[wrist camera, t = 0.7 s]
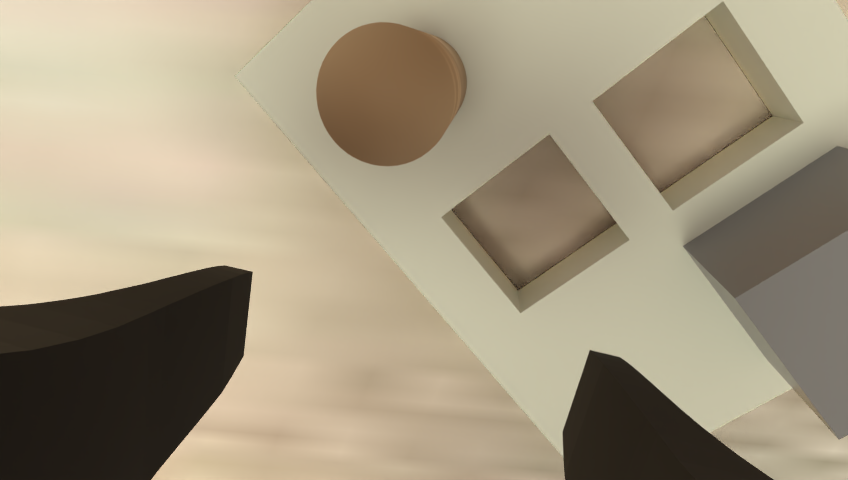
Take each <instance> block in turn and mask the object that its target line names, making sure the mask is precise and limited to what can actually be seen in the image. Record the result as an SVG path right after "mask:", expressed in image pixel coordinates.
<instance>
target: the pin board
mask: <svg viewBox="0 0 848 480" xmlns="http://www.w3.org/2000/svg"><path fill="white" fill-rule="evenodd" d="M704 15H705V16H706V18H707V19H708V21H709V22H710V24H711V25H712V27H713V28H714V30H715V31H716V33H717V34H718V36H719V37H720V39H721V40H722V41H723V43H724V44H725V46H726V47H727V49H728V50H729V52H730V53H731V55H732V56H733V58H734V59H735V61H736V62H737V64H738V65H739V67H740V68H741V70H742V71H743V73H744V74H745V76H746V77H747V79H748V80H749V82H750V83H751V85H752V86H753V88H754V89H755V91H756V92H757V94H758V95H759V97H760V98H761V100H762V101H763V103H764V104H765V106H766V107H767V108H768V110H769V111H770V113H771V114H772V117H770V118H769V119H767V120H766V121H764V122H763V123H761V124H760V125H759V126H757V127H756V128H754V129H753V130H751V131H750V132H748V133H747V134H745V135H744V136H743V137H741V138H740V139H738V140H737V141H735V142H734V143H732V144H731V145H729V146H728V147H727V148H725V149H724V150H722V151H721V152H719V153H718V154H716V155H715V156H713V157H712V158H711V159H709V160H708V161H706V162H705V163H703V164H702V165H700V166H699V167H697V168H696V169H694V170H693V171H692V172H690V173H689V174H687V175H686V176H684V177H683V178H681V179H680V180H678V181H677V182H676V183H674V184H673V185H671V186H670V187H668V188H667V189H665V190H664V191H662V192H661V193H660V192H659V191H658V190H657V188H656V187H655V186H654V184H653V183H652V182H651V180H650V179H649V178H648V176H647V175H646V173H645V172H644V171H643V169H642V168H641V167H640V165H639V164H638V163H637V161H636V160H635V158H634V157H633V156H632V154H631V153H630V152H629V150H628V149H627V148H626V146H625V145H624V144H623V142H622V141H621V139H620V138H619V137H618V135H617V134H616V133H615V131H614V130H613V129H612V127H611V126H610V124H609V123H608V122H607V120H606V119H605V118H604V116H603V115H602V114H601V112H600V111H599V110H598V108H597V107H596V105H595V104H594V103H593V100H595V99H596V98H597V97H599V96H600V95H601V94H603V93H604V92H605V91H606V90H608V89H609V88H610V87H612V86H613V85H614V84H616V83H617V82H618V81H620V80H621V79H622V78H623V77H625V76H626V75H627V74H629V73H630V72H631V71H633V70H634V69H635V68H637V67H638V66H639V65H640V64H642V63H643V62H644V61H646V60H647V59H648V58H650V57H651V56H652V55H653V54H655V53H656V52H657V51H659V50H660V49H661V48H663V47H664V46H665V45H667V44H668V43H669V42H670V41H672V40H673V39H674V38H676V37H677V36H678V35H680V34H681V33H682V32H683V31H685V30H686V29H687V28H689V27H690V26H691V25H693V24H694V23H695V22H697V21H698V20H699V19H700V18H702V17H703V16H704ZM377 22H390V23H396V24H401V25H404V26H407V27H410V28H413V29H416V30H419V31H422V32H425V33H428V34H431V35H434V36H437V37H439V38H441V39H443V40H444V41H446V42H447V43H448V44H450V45H451V46H452V47H453V48H454V49H455V51H456V52H457V53H458V55H459V56H460V58H461V60H462V62H463V65H464V68H465V71H466V77H467V89H466V94H465V98H464V101H463V103H462V105H461V107H460V109H459V111H458V112H457V114H456V115H455V117H454V119H453V120H452V122H451V123H450V125H449V127H448V128H447V130H446V131H445V133H444V135H443V136H442V138H441V139H440V140H439V142H438V143H437V144H436V145H435V146H434V147H433V148H432V149H431V150H430V151H429V152H427V153H426V154H425V155H423V156H422V157H420V158H418V159H416V160H414V161H412V162H409V163H406V164H402V165H398V166H377V165H372V164H368V163H365V162H362V161H360V160H358V159H356V158H354V157H352V156H351V155H349V154H348V153H346V152H345V151H344V150H343V149H341V148H340V147H339V146H338V145H337V144H336V143H335V142H334V140H333V139H332V138H331V136H330V135H329V134H328V132H327V130H326V128H325V127H324V125H323V122H322V120H321V117H320V114H319V111H318V106H317V99H316V86H317V78H318V74H319V70H320V67H321V65H322V62H323V60H324V58H325V56H326V54H327V53H328V52H329V50H330V49H331V47H332V46H333V45H334V44H335V43H336V42H337V41H338V40H339V39H340V38H341V37H342V36H344V35H345V34H346V33H348V32H350V31H351V30H353V29H355V28H358V27H360V26H363V25H366V24H370V23H377ZM235 78H236V79H237V80H238V81H239V82H240V83H241V85H242V86H243V87H244V88H245V89H246V90H247V92H248V93H249V94H250V95H251V96H252V97H253V99H254V100H255V101H256V102H257V103H258V104H259V105H260V107H261V108H262V109H263V110H264V111H265V112H266V114H267V115H268V116H269V117H270V118H271V119H272V121H273V122H274V123H275V124H276V125H277V126H278V127H279V129H280V130H281V131H282V132H283V133H284V134H285V136H286V137H287V138H288V139H289V140H290V141H291V143H292V144H293V145H294V146H295V147H296V148H297V150H298V151H299V152H300V153H301V154H302V155H303V156H304V158H305V159H306V160H307V161H308V162H309V163H310V165H311V166H312V167H313V168H314V169H315V170H316V172H317V173H318V174H319V175H320V176H321V177H322V179H323V180H324V181H325V182H326V183H327V184H328V185H329V187H330V188H331V189H332V190H333V191H334V192H335V194H336V195H337V196H338V197H339V198H340V199H341V201H342V202H343V203H344V204H345V205H346V206H347V208H348V209H349V210H350V211H351V212H352V213H353V214H354V216H355V217H356V218H357V219H358V220H359V221H360V223H361V224H362V225H363V226H364V227H365V228H366V230H367V231H368V232H369V233H370V234H371V235H372V236H373V238H374V239H375V240H376V241H377V242H378V243H379V245H380V246H381V247H382V248H383V249H384V250H385V252H386V253H387V254H388V255H389V256H390V257H391V259H392V260H393V261H394V262H395V263H396V264H397V265H398V267H399V268H400V269H401V270H402V271H403V272H404V274H405V275H406V276H407V277H408V278H409V279H410V281H411V282H412V283H413V284H414V285H415V286H416V288H417V289H418V290H419V291H420V292H421V293H422V294H423V296H424V297H425V298H426V299H427V300H428V301H429V303H430V304H431V305H432V306H433V307H434V308H435V310H436V311H437V312H438V313H439V314H440V315H441V317H442V318H443V319H444V320H445V321H446V322H447V323H448V325H449V326H450V327H451V328H452V329H453V330H454V332H455V333H456V334H457V335H458V336H459V337H460V339H461V340H462V341H463V342H464V343H465V344H466V345H467V347H468V348H469V349H470V350H471V351H472V352H473V354H474V355H475V356H476V357H477V358H478V359H479V361H480V362H481V363H482V364H483V365H484V366H485V368H486V369H487V370H488V371H489V372H490V373H491V374H492V376H493V377H494V378H495V379H496V380H497V381H498V383H499V384H500V385H501V386H502V387H503V388H504V390H505V391H506V392H507V393H508V394H509V395H510V397H511V398H512V399H513V400H514V401H515V402H516V403H517V405H518V406H519V407H520V408H521V409H522V410H523V412H524V413H525V414H526V415H527V416H528V417H529V419H530V420H531V421H532V422H533V423H534V424H535V426H536V427H537V428H538V429H539V430H540V431H541V432H542V434H543V435H544V436H545V437H546V438H547V439H548V441H549V442H550V443H551V444H552V445H553V446H554V448H555V449H556V450H557V451H558V452H559V453H560V454H561V456H562V457H563V433H562V432H563V429H564V426H565V423H566V420H567V417H568V414H569V411H570V408H571V405H572V402H573V399H574V396H575V393H576V390H577V387H578V384H579V381H580V378H581V375H582V372H583V369H584V366H585V363H586V360H587V357H588V354H589V351H590V350H592V351H596V352H600V353H605V354H609V355H613V356H618V357H620V358H622V359H623V360H625V361H626V362H628V363H629V364H630V365H631V366H633V367H634V368H635V369H636V370H637V371H639V372H640V373H641V374H642V375H643V376H644V377H645V378H647V379H648V380H649V381H650V382H651V383H652V384H653V385H654V386H655V387H657V388H658V389H659V390H660V391H661V392H662V393H663V394H664V395H666V396H667V397H668V398H669V399H670V400H671V401H672V402H673V403H675V404H676V405H677V406H678V407H679V408H680V409H681V410H683V411H684V412H685V413H686V414H687V415H688V416H690V417H691V418H692V419H693V420H694V421H696V422H697V423H698V424H699V425H700V426H701V427H703V428H704V429H705V430H706V431H708V432H709V433H711V432H713V431H714V430H716V429H718V428H720V427H722V426H724V425H726V424H727V423H729V422H731V421H733V420H735V419H737V418H739V417H740V416H742V415H744V414H746V413H748V412H750V411H752V410H753V409H755V408H757V407H759V406H761V405H763V404H764V403H766V402H768V401H770V400H772V399H774V398H776V397H777V396H779V395H781V394H783V393H785V392H787V391H789V390H790V389H792V387H791V386H790V385H789V384H788V383H787V382H786V380H785V379H784V378H783V377H782V376H781V375H780V374H779V373H778V372H777V370H776V369H775V368H774V367H773V366H772V365H771V364H770V363H769V362H768V360H767V359H766V358H765V356H764V355H763V354H762V352H761V351H760V350H759V348H758V347H757V346H756V344H755V343H754V342H753V340H752V339H751V337H750V336H749V335H748V333H747V332H746V331H745V329H744V328H743V327H742V325H741V324H740V323H739V321H738V320H737V319H736V317H735V316H734V315H733V313H732V312H731V311H730V309H729V308H728V307H727V305H726V304H725V302H724V301H723V300H722V298H721V297H720V296H719V294H718V293H717V292H716V290H715V289H714V288H713V286H712V285H711V284H710V282H709V281H708V280H707V278H706V277H705V276H704V274H703V273H702V271H701V270H700V269H699V267H698V266H697V265H696V263H695V262H694V261H693V259H692V258H691V257H690V255H689V254H688V253H687V251H686V250H685V249H684V247H683V246H684V245H685V244H687V243H688V242H690V241H692V240H693V239H695V238H696V237H698V236H699V235H701V234H702V233H704V232H705V231H707V230H708V229H710V228H712V227H713V226H715V225H716V224H718V223H719V222H721V221H722V220H724V219H725V218H727V217H728V216H730V215H732V214H733V213H735V212H736V211H738V210H739V209H741V208H742V207H744V206H745V205H747V204H749V203H750V202H752V201H753V200H755V199H756V198H758V197H759V196H761V195H762V194H764V193H765V192H767V191H769V190H770V189H772V188H773V187H775V186H776V185H778V184H779V183H781V182H782V181H784V180H785V179H787V178H789V177H790V176H792V175H793V174H795V173H796V172H798V171H799V170H801V169H802V168H804V167H806V166H807V165H809V164H810V163H812V162H813V161H815V160H816V159H818V158H819V157H821V156H822V155H824V154H826V153H827V152H829V151H830V150H832V149H833V148H835V147H836V146H840V147H843V148H847V149H848V19H847V18H846V16H845V15H844V13H843V11H842V10H841V8H840V6H839V5H838V3H837V2H836V0H311V1H310V2H309V3H308V4H307V5H306V6H305V7H304V8H303V9H302V10H301V11H300V12H299V13H298V14H297V15H296V16H295V17H294V18H293V19H292V20H291V21H290V22H289V23H288V24H287V25H286V26H285V27H284V28H283V29H282V30H281V31H280V32H279V33H278V34H277V35H276V36H275V37H274V38H272V39H271V40H270V41H269V42H268V43H267V44H266V45H265V46H264V47H263V48H262V49H261V50H260V51H259V52H258V53H257V54H256V55H255V56H254V57H253V58H252V59H251V60H250V61H249V62H248V63H247V64H246V65H245V66H244V67H243V68H242V69H241V70H240V71H239V72H238V73H237V74H236V75H235ZM548 135H550V136H551V137H552V139H553V140H554V141H555V142H556V144H557V145H558V146H559V148H560V149H561V150H562V152H563V153H564V154H565V156H566V157H567V158H568V160H569V161H570V162H571V163H572V165H573V166H574V167H575V169H576V170H577V171H578V173H579V174H580V175H581V177H582V178H583V179H584V181H585V182H586V183H587V185H588V186H589V187H590V188H591V190H592V191H593V192H594V194H595V195H596V196H597V198H598V199H599V200H600V202H601V203H602V204H603V206H604V207H605V208H606V209H607V211H608V212H609V213H610V215H611V216H612V217H613V219H614V220H615V221H616V224H614V225H613V226H611V227H610V228H609V229H607V230H606V231H604V232H603V233H601V234H600V235H598V236H597V237H595V238H594V239H593V240H591V241H590V242H588V243H587V244H585V245H584V246H582V247H581V248H579V249H578V250H577V251H575V252H574V253H572V254H571V255H569V256H568V257H566V258H565V259H563V260H562V261H561V262H559V263H558V264H556V265H555V266H553V267H552V268H550V269H549V270H547V271H546V272H545V273H543V274H542V275H540V276H539V277H537V278H536V279H534V280H533V281H531V282H530V283H528V284H527V285H526V286H524V287H523V288H521V289H520V290H517V289H516V288H515V286H514V285H513V284H512V283H511V282H510V280H509V279H508V278H507V277H506V276H505V274H504V273H503V272H502V271H501V269H500V268H499V267H498V266H497V265H496V263H495V262H494V261H493V260H492V259H491V257H490V256H489V255H488V254H487V252H486V251H485V250H484V249H483V248H482V246H481V245H480V244H479V243H478V242H477V240H476V239H475V238H474V237H473V235H472V234H471V233H470V232H469V231H468V229H467V228H466V227H465V226H464V224H463V223H462V222H461V221H460V220H459V218H458V217H457V216H456V215H455V214H454V212H453V211H452V210H451V209H453V208H454V207H455V206H456V205H458V204H459V203H460V202H462V201H463V200H464V199H466V198H467V197H468V196H470V195H471V194H472V193H473V192H475V191H476V190H477V189H479V188H480V187H481V186H483V185H484V184H485V183H486V182H488V181H489V180H490V179H492V178H493V177H494V176H496V175H497V174H498V173H500V172H501V171H502V170H503V169H505V168H506V167H507V166H509V165H510V164H511V163H513V162H514V161H515V160H516V159H518V158H519V157H520V156H522V155H523V154H524V153H526V152H527V151H528V150H530V149H531V148H532V147H533V146H535V145H536V144H537V143H539V142H540V141H541V140H543V139H544V138H545V137H546V136H548ZM563 458H564V457H563Z"/></svg>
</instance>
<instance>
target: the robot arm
mask: <svg viewBox="0 0 848 480" xmlns="http://www.w3.org/2000/svg"><path fill="white" fill-rule="evenodd" d="M251 282H252V272H251V271H246V270H242V269H238V268H233V267H229V266H216V267H211V268H206V269H201V270H197V271H193V272H189V273H185V274H181V275H177V276H173V277H169V278H165V279H161V280H158V281H154V282H150V283H146V284H142V285H137V286H132V287H128V288H123V289H119V290H114V291H110V292H105V293H101V294H96V295H91V296H85V297H79V298H73V299H67V300H59V301H52V302H45V303H37V304H28V305H16V306H2V307H0V480H151V479H152V478H153V476H154V475H155V474H156V472H157V471H158V470H159V469H160V467H161V466H162V465H163V464H164V463H165V461H166V460H167V459H168V458H169V457H170V455H171V454H172V453H173V452H174V451H175V449H176V448H177V447H178V446H179V444H180V443H181V442H182V441H183V440H184V438H185V437H186V436H187V435H188V434H189V432H190V431H191V430H192V429H193V427H194V426H195V425H196V424H197V423H198V421H199V420H200V419H201V418H202V416H203V415H204V414H205V413H206V412H207V410H208V409H209V408H210V407H211V405H212V404H213V403H214V402H215V400H216V399H217V398H218V397H219V395H220V394H221V393H222V391H223V390H224V388H225V386H226V385H227V383H228V382H229V380H230V378H231V377H232V375H233V373H234V372H235V370H236V368H237V366H238V365H239V363H240V361H241V359H242V358H243V356H244V346H245V337H246V328H247V319H248V309H249V300H250V291H251ZM562 433H563V457H564V472H565V480H773V479H772V478H770V477H769V476H767V475H766V474H764V473H763V472H762V471H760V470H759V469H757V468H756V467H754V466H753V465H751V464H750V463H748V462H747V461H746V460H744V459H743V458H741V457H740V456H739V455H737V454H736V453H735V452H733V451H732V450H731V449H729V448H728V447H727V446H725V445H724V444H723V443H722V442H720V441H719V440H718V439H717V438H715V437H714V436H713V435H711V434H710V433H709V432H708V431H706V430H705V429H704V428H703V427H701V426H700V425H699V424H698V423H697V422H696V421H694V420H693V419H692V418H691V417H690V416H688V415H687V414H686V413H685V412H684V411H683V410H681V409H680V408H679V407H678V406H677V405H676V404H675V403H673V402H672V401H671V400H670V399H669V398H668V397H667V396H666V395H664V394H663V393H662V392H661V391H660V390H659V389H658V388H657V387H655V386H654V385H653V384H652V383H651V382H650V381H649V380H648V379H647V378H645V377H644V376H643V375H642V374H641V373H640V372H639V371H637V370H636V369H635V368H634V367H633V366H631V365H630V364H629V363H628V362H626V361H625V360H623V359H622V358H620V357H618V356H613V355H609V354H605V353H600V352H596V351H592V350H590V351H589V354H588V357H587V360H586V363H585V366H584V369H583V372H582V375H581V378H580V381H579V384H578V387H577V390H576V393H575V396H574V399H573V402H572V405H571V408H570V411H569V414H568V417H567V420H566V423H565V426H564V429H563V432H562Z"/></svg>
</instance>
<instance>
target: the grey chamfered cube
mask: <svg viewBox="0 0 848 480" xmlns="http://www.w3.org/2000/svg"><path fill="white" fill-rule="evenodd" d="M683 247H684V249H685V250H686V251H687V253H688V254H689V255H690V257H691V258H692V259H693V261H694V262H695V263H696V265H697V266H698V267H699V269H700V270H701V271H702V273H703V274H704V276H705V277H706V278H707V280H708V281H709V282H710V284H711V285H712V286H713V288H714V289H715V290H716V292H717V293H718V294H719V296H720V297H721V298H722V300H723V301H724V302H725V304H726V305H727V307H728V308H729V309H730V311H731V312H732V313H733V315H734V316H735V317H736V319H737V320H738V321H739V323H740V324H741V325H742V327H743V328H744V329H745V331H746V332H747V333H748V335H749V336H750V337H751V339H752V340H753V342H754V343H755V344H756V346H757V347H758V348H759V350H760V351H761V352H762V354H763V355H764V356H765V358H766V359H767V360H768V362H769V363H770V364H771V365H772V366H773V367H774V368H775V369H776V370H777V372H778V373H779V374H780V375H781V376H782V377H783V378H784V379H785V380H786V382H787V383H788V384H789V385H790V386H791V387H792V388H793V389H794V390H795V392H796V393H797V394H798V395H799V396H800V397H801V398H802V399H803V400H804V402H805V403H806V404H807V405H808V406H809V407H810V408H811V409H812V410H813V411H814V413H815V414H816V415H817V416H818V417H819V418H820V419H821V420H822V421H823V423H824V424H825V425H826V426H827V427H828V428H829V429H830V430H831V431H832V433H833V434H834V435H835V436H836V437H837V438H838V439H841V438H843V437H845V436H847V435H848V149H847V148H843V147H840V146H836V147H835V148H833V149H832V150H830V151H829V152H827V153H826V154H824V155H822V156H821V157H819V158H818V159H816V160H815V161H813V162H812V163H810V164H809V165H807V166H806V167H804V168H802V169H801V170H799V171H798V172H796V173H795V174H793V175H792V176H790V177H789V178H787V179H785V180H784V181H782V182H781V183H779V184H778V185H776V186H775V187H773V188H772V189H770V190H769V191H767V192H765V193H764V194H762V195H761V196H759V197H758V198H756V199H755V200H753V201H752V202H750V203H749V204H747V205H745V206H744V207H742V208H741V209H739V210H738V211H736V212H735V213H733V214H732V215H730V216H728V217H727V218H725V219H724V220H722V221H721V222H719V223H718V224H716V225H715V226H713V227H712V228H710V229H708V230H707V231H705V232H704V233H702V234H701V235H699V236H698V237H696V238H695V239H693V240H692V241H690V242H688V243H687V244H685V245H684V246H683Z"/></svg>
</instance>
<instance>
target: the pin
mask: <svg viewBox="0 0 848 480" xmlns="http://www.w3.org/2000/svg"><path fill="white" fill-rule="evenodd" d="M466 89H467V77H466V71H465V68H464V65H463V62H462V60H461V58H460V56H459V55H458V53H457V52H456V51H455V49H454V48H453V47H452V46H451V45H450V44H448V43H447V42H446V41H444V40H443V39H441V38H439V37H437V36H434V35H431V34H428V33H425V32H422V31H419V30H416V29H413V28H410V27H407V26H404V25H401V24H396V23H390V22H377V23H370V24H366V25H363V26H360V27H358V28H355V29H353V30H351V31H350V32H348V33H346V34H345V35H344V36H342V37H341V38H340V39H339V40H338V41H337V42H336V43H335V44H334V45H333V46H332V47H331V49H330V50H329V52H328V53H327V54H326V56H325V58H324V60H323V62H322V65H321V67H320V70H319V74H318V78H317V86H316V99H317V106H318V111H319V114H320V117H321V120H322V122H323V125H324V127H325V128H326V130H327V132H328V134H329V135H330V136H331V138H332V139H333V140H334V142H335V143H336V144H337V145H338V146H339V147H340V148H341V149H343V150H344V151H345V152H346V153H348V154H349V155H351V156H352V157H354V158H356V159H358V160H360V161H362V162H365V163H368V164H372V165H377V166H398V165H402V164H406V163H409V162H412V161H414V160H416V159H418V158H420V157H422V156H423V155H425V154H426V153H427V152H429V151H430V150H431V149H432V148H433V147H434V146H435V145H436V144H437V143H438V142H439V140H440V139H441V138H442V136H443V135H444V133H445V131H446V130H447V128H448V127H449V125H450V123H451V122H452V120H453V119H454V117H455V115H456V114H457V112H458V111H459V109H460V107H461V105H462V103H463V101H464V98H465V94H466Z"/></svg>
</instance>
